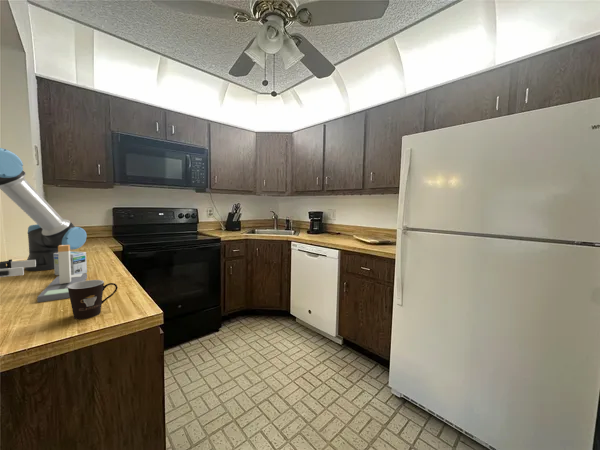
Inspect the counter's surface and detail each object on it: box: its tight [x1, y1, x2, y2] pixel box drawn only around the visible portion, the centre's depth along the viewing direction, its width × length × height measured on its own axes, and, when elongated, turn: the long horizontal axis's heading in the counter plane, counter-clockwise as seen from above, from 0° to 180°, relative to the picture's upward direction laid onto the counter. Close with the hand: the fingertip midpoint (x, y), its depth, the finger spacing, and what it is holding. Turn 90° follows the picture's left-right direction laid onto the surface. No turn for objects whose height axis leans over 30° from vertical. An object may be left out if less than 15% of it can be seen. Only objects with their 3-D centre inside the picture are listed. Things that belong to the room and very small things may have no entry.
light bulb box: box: [53, 250, 88, 276], centre depth 117 cm, size 11×7×11 cm, turn 84°
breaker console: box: [36, 272, 88, 303], centre depth 99 cm, size 28×10×2 cm, turn 35°
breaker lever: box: [58, 245, 71, 284], centre depth 98 cm, size 3×3×15 cm
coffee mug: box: [68, 279, 118, 320], centre depth 77 cm, size 12×9×10 cm
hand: (30, 266), depth 93 cm, fingers open, 13 cm apart
